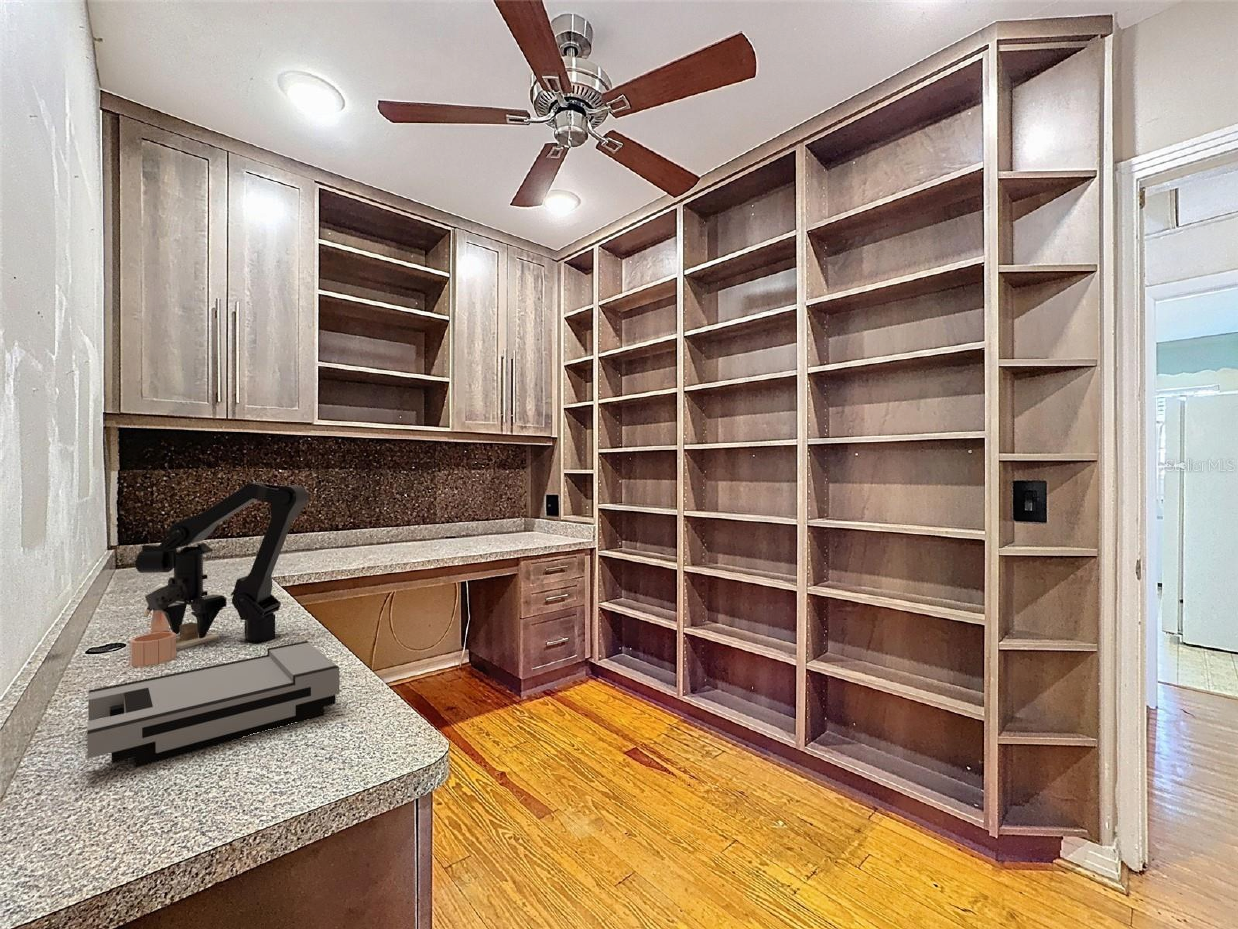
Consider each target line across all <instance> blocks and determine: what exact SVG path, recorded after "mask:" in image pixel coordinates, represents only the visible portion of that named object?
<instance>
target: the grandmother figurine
mask: <svg viewBox="0 0 1238 929" xmlns="http://www.w3.org/2000/svg"><path fill="white" fill-rule="evenodd" d="M165 586H167V585H166V584H162V583H160V584H158V585H156V586H154V587H153V588H152V590H151V591H152V592H154V591H156V590H158V589H160V588H162V587H165ZM152 592H151V593H152ZM145 609H146V610H145V613H144V614H143V617H144V618H149V616H150V614H151V612H152V616H151V620H150V633H158V632H170V625H169V623H168V620H167V618H166V616H165V614H164V613H162V612H160V611H159V610H156V609H150V607H149V605H147V607H146V608H145Z"/></svg>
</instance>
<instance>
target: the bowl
mask: <svg viewBox="0 0 1238 929" xmlns="http://www.w3.org/2000/svg"><path fill="white" fill-rule="evenodd" d="M176 637H177V634H176V633H174V632H172V631H168V632H158V633H151V632H150V633H146V634H143V635H139V636H135V637H133V638H130V639H129V665H130V666H131V667H136V668H138V667H140V668H141V667H143V668H144V667H149V666H150V667H151V666H157V665H160V664H161V665H162V664H165V663H168V662H171V661H173V660H174V659H175V658H177V651H176Z"/></svg>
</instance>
